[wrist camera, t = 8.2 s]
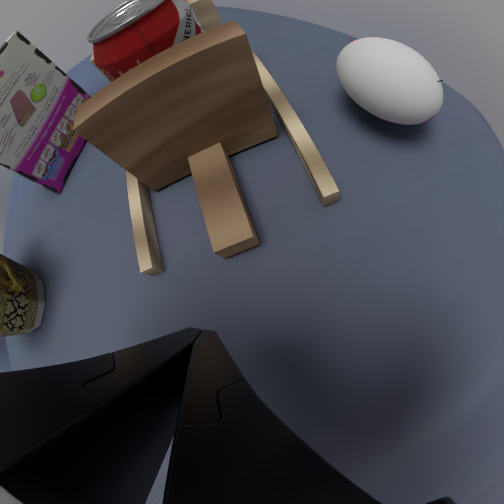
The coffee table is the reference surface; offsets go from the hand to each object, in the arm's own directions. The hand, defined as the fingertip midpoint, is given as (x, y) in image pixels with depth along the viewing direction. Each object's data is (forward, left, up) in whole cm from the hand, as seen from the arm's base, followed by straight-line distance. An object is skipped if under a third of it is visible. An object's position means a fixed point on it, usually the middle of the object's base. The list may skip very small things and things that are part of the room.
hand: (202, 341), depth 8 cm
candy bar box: (+28, -6, -8) cm, 30 cm away
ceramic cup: (+22, +10, -8) cm, 25 cm away
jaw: (+6, -7, -8) cm, 12 cm away
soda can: (+12, -12, -8) cm, 19 cm away
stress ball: (-2, -18, -8) cm, 20 cm away
